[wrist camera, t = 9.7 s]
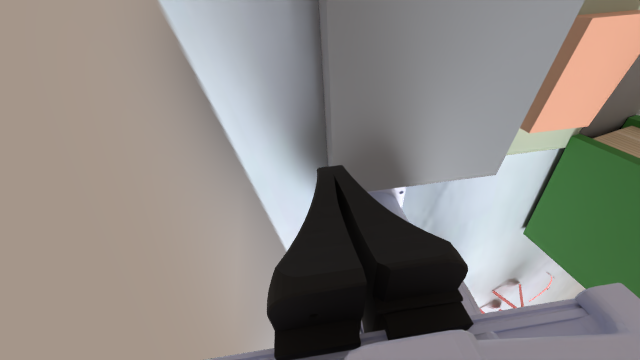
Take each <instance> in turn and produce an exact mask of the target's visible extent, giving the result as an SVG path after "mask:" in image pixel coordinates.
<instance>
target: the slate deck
mask: <svg viewBox="0 0 640 360" xmlns="http://www.w3.org/2000/svg"><path fill="white" fill-rule="evenodd" d="M318 1H319V19H320V36H321V54H322V71H323V89H324V106H325V124H326V141H327V159H328V167H329V166H337V165H343V166H344V167H345V169H346V170H347V171H348V172H349V174H350V175H351V176H352V177H353V178H354V179H355V180H356V181H357V182H358V183H359V184H360V185H361V187H362V188H363V189H364V190H366V191H367V192H370V191H378V190H385V189H393V188H400V187H408V186H415V185H423V184H431V183H438V182H446V181H453V180H461V179H469V178H476V177H484V176H491V175H496V174H497V172H498V170H499V168H500V166H501V164H502V162H503V160H504V158H505V156H506V154H507V152H508V150H509V148H510V146H511V144H512V142H513V140H514V138H515V136H516V134H517V132H518V130H519V128H520V126H521V124H522V123H523V121H524V119H525V117H526V115H527V113H528V111H529V109H530V107H531V105H532V103H533V101H534V99H535V97H536V95H537V93H538V91H539V89H540V87H541V85H542V83H543V81H544V79H545V77H546V75H547V73H548V71H549V70H550V68H551V66H552V64H553V62H554V60H555V58H556V56H557V54H558V52H559V50H560V48H561V46H562V44H563V42H564V40H565V38H566V36H567V34H568V32H569V30H570V28H571V26H572V24H573V22H574V20H575V18H576V17H577V15H578V13H579V11H580V9H581V7H582V5H583V3H584V1H585V0H318Z"/></svg>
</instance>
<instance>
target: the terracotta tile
mask: <svg viewBox="0 0 640 360" xmlns="http://www.w3.org/2000/svg"><path fill="white" fill-rule="evenodd" d="M639 54H640V10H629V11H618V12H607V13H596V14H585V15H577V17H576V18H575V20H574V22H573V24H572V26H571V28H570V30H569V32H568V34H567V36H566V38H565V40H564V42H563V44H562V46H561V48H560V50H559V52H558V54H557V56H556V58H555V60H554V62H553V64H552V66H551V68H550V70H549V71H548V73H547V75H546V77H545V79H544V81H543V83H542V85H541V87H540V89H539V91H538V93H537V95H536V97H535V99H534V101H533V103H532V105H531V107H530V109H529V111H528V113H527V115H526V117H525V119H524V121H523V123H522V124H521V126H520V129H522V130H524V131H526V132H528V133H537V132H546V131H554V130H562V129H571V128H579V127H588V126H589V125H590V123H591V122H592V120H593V119H594V118H595V116H596V115H597V113H598V112H599V110H600V109H601V108H602V106H603V105H604V103H605V102H606V101H607V99H608V98H609V96H610V95H611V94H612V92H613V91H614V89H615V88H616V87H617V85H618V84H619V82H620V81H621V80H622V78H623V77H624V75H625V74H626V73H627V71H628V70H629V68H630V67H631V66H632V64H633V63H634V61H635V60H636V58H637V57H638V56H639Z"/></svg>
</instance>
